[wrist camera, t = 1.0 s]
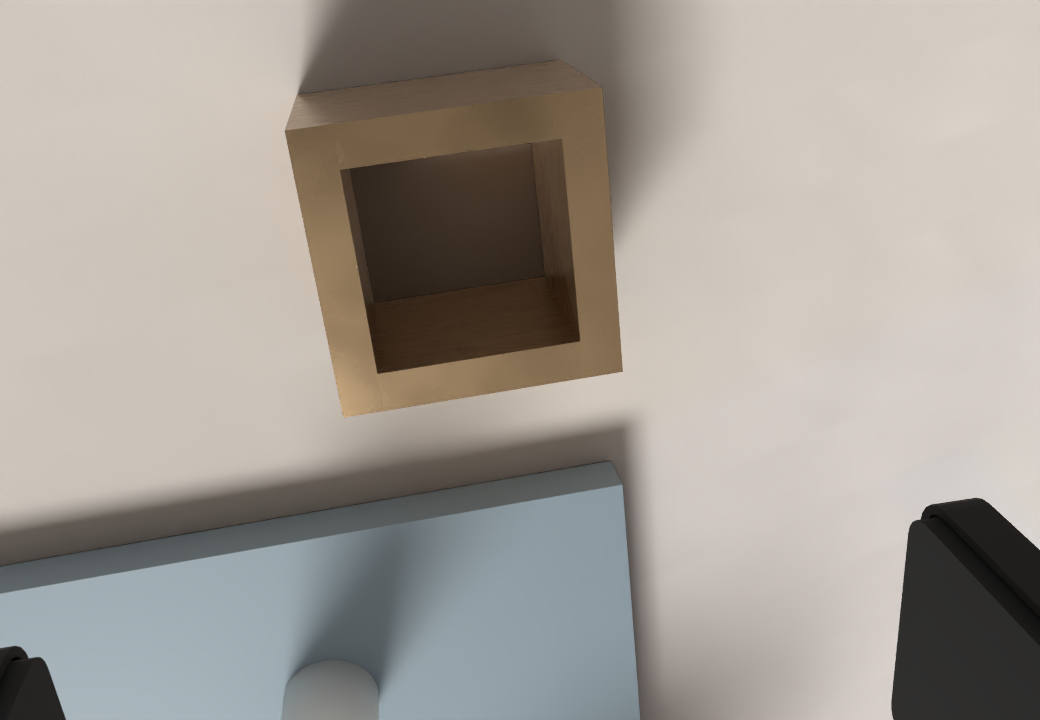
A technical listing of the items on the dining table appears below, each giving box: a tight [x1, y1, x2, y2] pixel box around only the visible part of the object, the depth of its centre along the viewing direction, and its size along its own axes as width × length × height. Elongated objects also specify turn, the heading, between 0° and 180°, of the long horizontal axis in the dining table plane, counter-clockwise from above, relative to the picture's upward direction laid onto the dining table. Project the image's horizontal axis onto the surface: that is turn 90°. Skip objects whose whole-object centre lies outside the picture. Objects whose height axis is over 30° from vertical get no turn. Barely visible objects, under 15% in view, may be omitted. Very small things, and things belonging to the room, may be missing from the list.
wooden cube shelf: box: [285, 60, 623, 417], centre depth 25 cm, size 7×7×5 cm
